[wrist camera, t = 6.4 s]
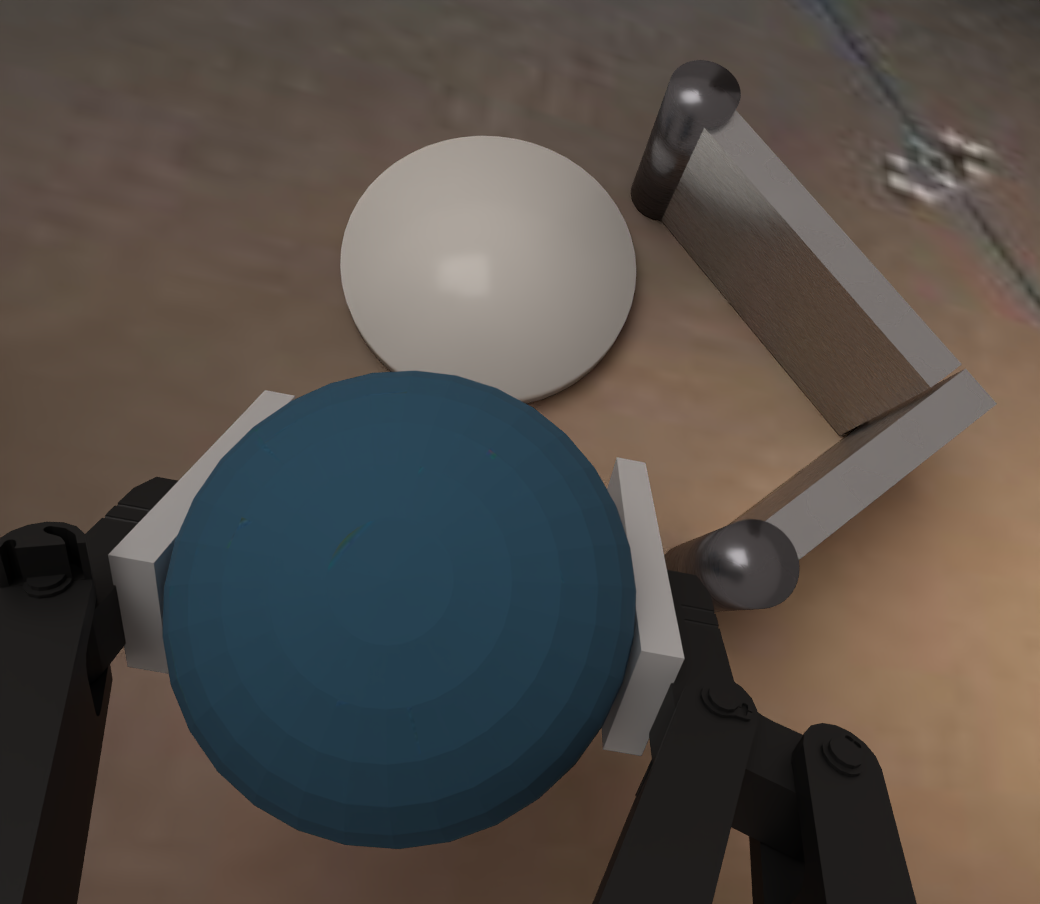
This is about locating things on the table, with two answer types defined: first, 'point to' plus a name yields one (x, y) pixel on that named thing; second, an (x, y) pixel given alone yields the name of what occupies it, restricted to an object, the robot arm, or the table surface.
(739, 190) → the bent rail
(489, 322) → the coaster
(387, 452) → the dark blue rounded piece
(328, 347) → the table surface
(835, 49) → the table surface
